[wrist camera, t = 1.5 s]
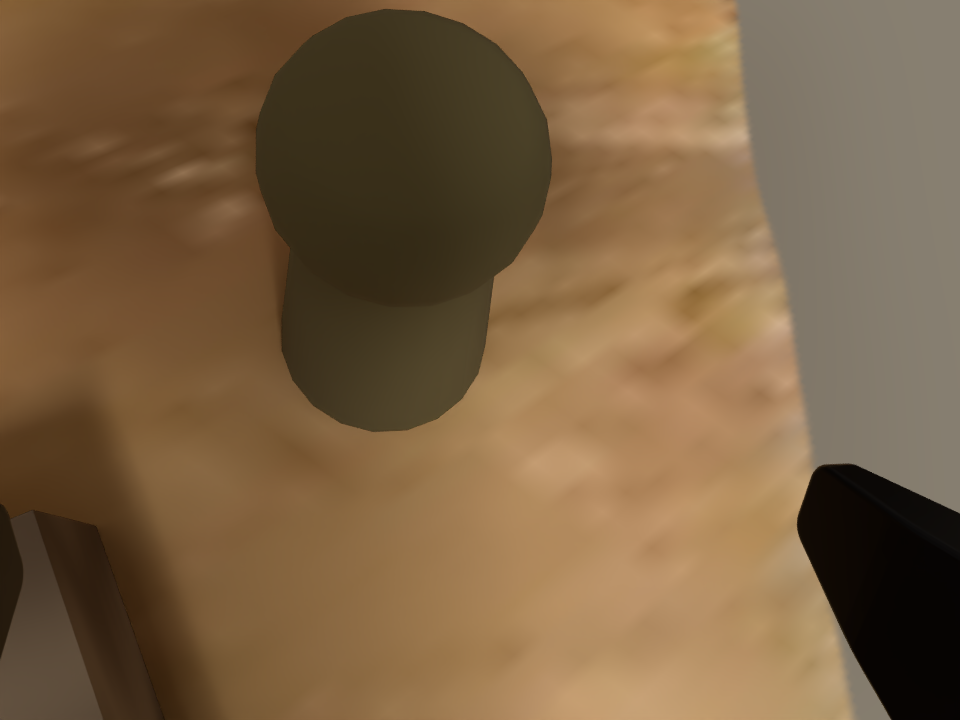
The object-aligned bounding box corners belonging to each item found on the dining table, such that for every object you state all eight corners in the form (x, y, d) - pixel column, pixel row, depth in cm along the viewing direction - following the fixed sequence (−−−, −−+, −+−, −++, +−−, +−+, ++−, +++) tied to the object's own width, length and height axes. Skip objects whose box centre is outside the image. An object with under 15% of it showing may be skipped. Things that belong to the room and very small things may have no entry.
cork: (379, 203, 23) (399, -110, 13) (525, 329, 23) (669, 109, 12) (235, 336, 21) (122, 91, 11) (392, 476, 21) (431, 361, 10)
